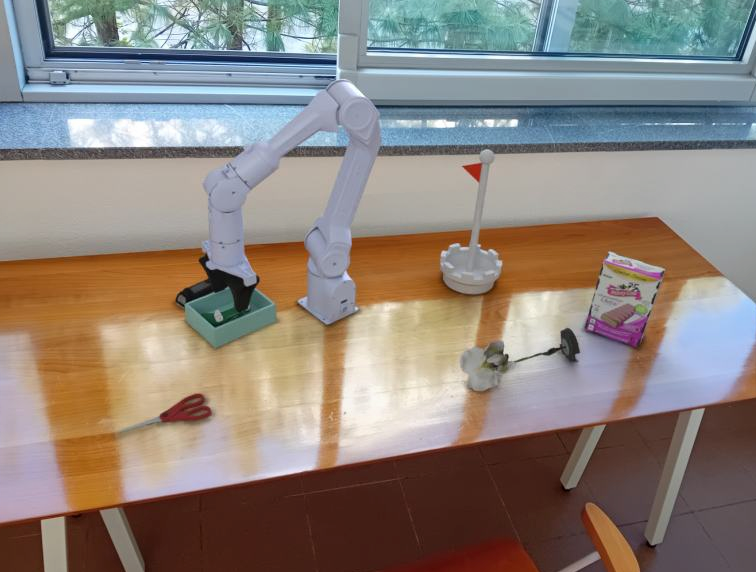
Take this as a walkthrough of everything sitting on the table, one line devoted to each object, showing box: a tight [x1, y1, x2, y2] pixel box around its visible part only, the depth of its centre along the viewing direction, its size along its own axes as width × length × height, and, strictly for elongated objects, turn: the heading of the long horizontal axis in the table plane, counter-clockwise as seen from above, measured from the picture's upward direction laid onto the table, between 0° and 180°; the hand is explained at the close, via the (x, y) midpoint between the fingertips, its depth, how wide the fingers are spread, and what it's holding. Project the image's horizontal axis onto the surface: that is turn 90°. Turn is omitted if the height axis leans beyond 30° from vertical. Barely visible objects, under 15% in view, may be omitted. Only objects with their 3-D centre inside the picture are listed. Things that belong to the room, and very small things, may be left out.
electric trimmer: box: [175, 272, 237, 309], centre depth 144 cm, size 4×16×3 cm, turn 142°
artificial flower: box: [459, 327, 581, 392], centre depth 131 cm, size 9×22×10 cm, turn 109°
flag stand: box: [439, 148, 503, 295], centre depth 149 cm, size 13×13×30 cm
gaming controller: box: [200, 305, 251, 327], centre depth 135 cm, size 9×4×6 cm
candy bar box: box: [584, 251, 666, 349], centre depth 141 cm, size 11×5×16 cm, turn 65°
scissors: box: [115, 393, 212, 434], centre depth 114 cm, size 5×14×1 cm, turn 123°
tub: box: [184, 287, 277, 349], centre depth 136 cm, size 10×13×4 cm
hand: (230, 300), depth 134 cm, fingers open, 7 cm apart
